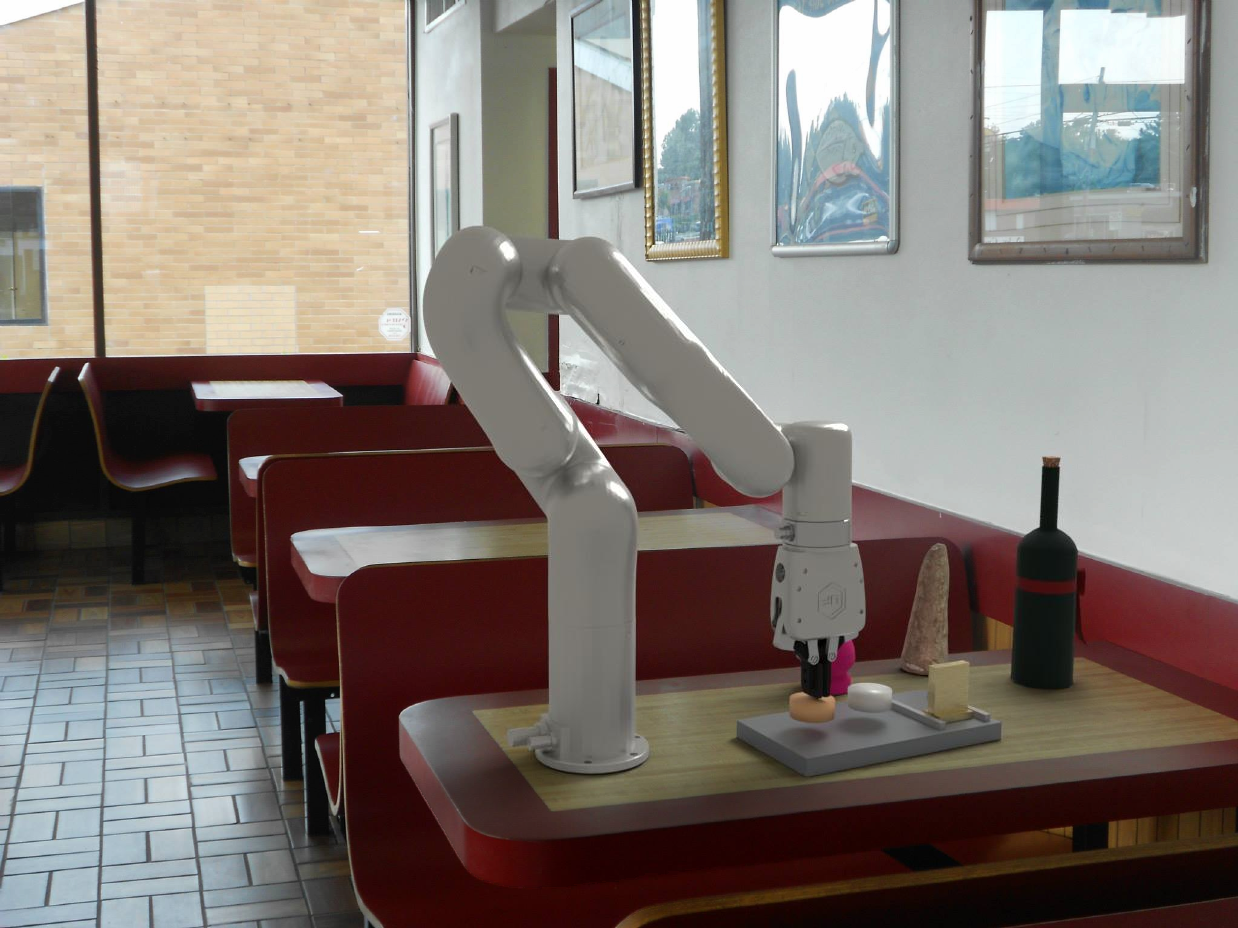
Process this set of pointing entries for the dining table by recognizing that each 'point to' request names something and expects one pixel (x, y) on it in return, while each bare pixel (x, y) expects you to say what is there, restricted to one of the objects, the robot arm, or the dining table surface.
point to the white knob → (869, 697)
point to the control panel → (864, 735)
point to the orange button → (811, 708)
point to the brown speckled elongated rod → (928, 615)
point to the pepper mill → (842, 669)
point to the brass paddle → (949, 691)
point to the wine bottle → (1047, 596)
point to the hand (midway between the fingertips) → (816, 694)
